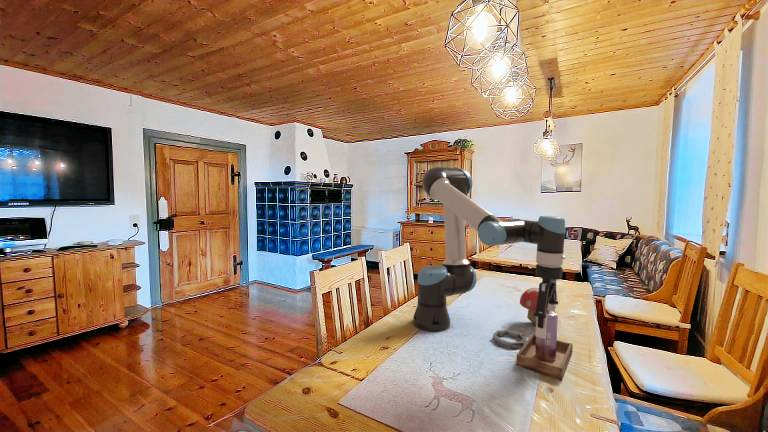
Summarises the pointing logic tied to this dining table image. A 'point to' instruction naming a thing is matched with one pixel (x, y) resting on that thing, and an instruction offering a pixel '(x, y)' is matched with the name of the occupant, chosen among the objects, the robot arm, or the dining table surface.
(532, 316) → the decorative mushroom
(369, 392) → the dining table surface
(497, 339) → the collar
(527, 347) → the crate
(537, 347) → the beverage can
